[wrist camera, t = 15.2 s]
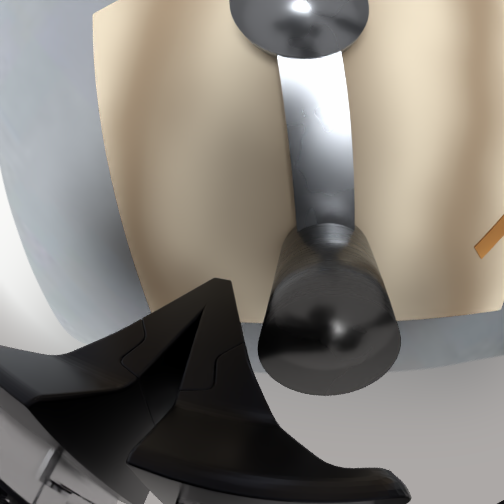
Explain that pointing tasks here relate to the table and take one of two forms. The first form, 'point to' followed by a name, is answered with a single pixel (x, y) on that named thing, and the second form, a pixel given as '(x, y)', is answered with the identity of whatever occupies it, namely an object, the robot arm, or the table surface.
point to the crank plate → (278, 154)
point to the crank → (320, 209)
